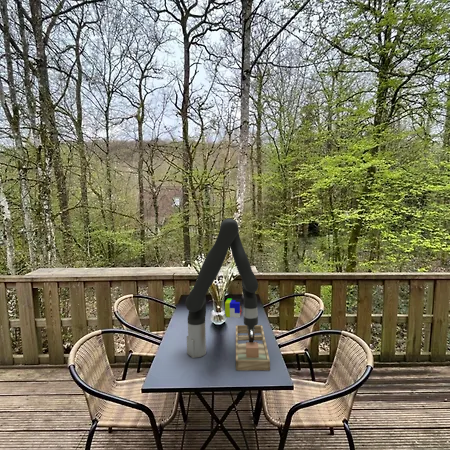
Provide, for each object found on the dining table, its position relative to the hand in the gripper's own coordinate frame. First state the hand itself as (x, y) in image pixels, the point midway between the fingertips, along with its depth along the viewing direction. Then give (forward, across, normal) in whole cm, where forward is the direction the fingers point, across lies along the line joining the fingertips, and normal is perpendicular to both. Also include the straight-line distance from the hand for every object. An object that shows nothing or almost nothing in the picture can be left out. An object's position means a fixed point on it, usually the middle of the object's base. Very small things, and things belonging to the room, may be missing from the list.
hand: (251, 346), depth 155 cm
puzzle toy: (+4, +52, +9) cm, 53 cm away
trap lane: (+3, +4, 0) cm, 5 cm away
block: (+1, -6, 0) cm, 6 cm away
